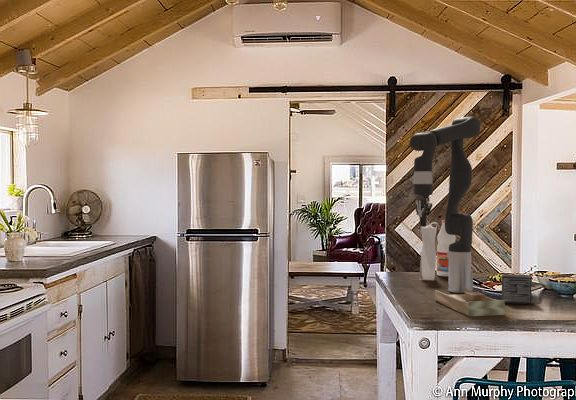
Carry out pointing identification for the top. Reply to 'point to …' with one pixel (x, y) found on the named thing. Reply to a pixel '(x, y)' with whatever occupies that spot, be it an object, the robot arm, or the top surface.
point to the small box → (516, 289)
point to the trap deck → (471, 304)
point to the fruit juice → (443, 250)
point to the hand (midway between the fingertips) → (422, 226)
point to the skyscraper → (428, 253)
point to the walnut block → (474, 296)
